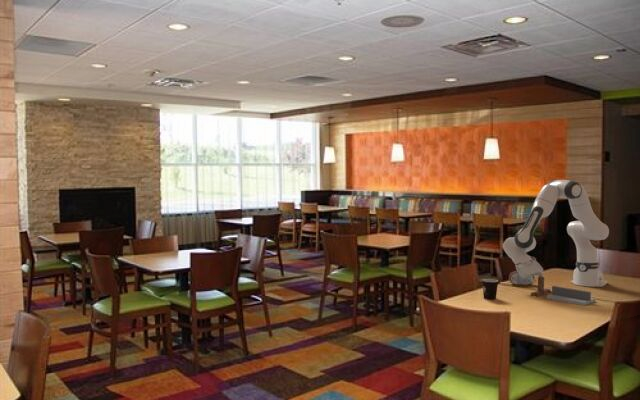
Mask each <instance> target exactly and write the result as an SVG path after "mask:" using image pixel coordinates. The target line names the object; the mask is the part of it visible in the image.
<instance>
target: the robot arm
mask: <svg viewBox="0 0 640 400" xmlns="http://www.w3.org/2000/svg"><path fill="white" fill-rule="evenodd" d="M558 199H567V200H568V204H569V206H570V207H569V208H570V210H571V213H572V216H573V218H575V219H576V220H573V221H570V222H569V223H568V224H567V226H566V231H567V234H568V236H570V238H571V239H572V240H573V242H574V244H575V248H576V260H575V261H576V262H575V269H574V270H573V275H572V276H573V278H572V280H570V283H573V284H574V285H576V286H580V287H595V288H596V287H599V288H601V287H603V288H604V286H606V285H607V284H608V281H607V280H604V274H603V272H602V271H601V269H600V268H599V266H600V261H598V250H597V249H598V248H596V247H595V246H594V245H593V244H592V243H591V241H590V240H592V241H602V240H606V239H607V238H608V237H609V234H610V229H609V227H608V225H607V224H606V223H604V222H602V221H601V220H600V219H599V217H597V214H595V213H594V211H593V207H592V205H591V202H590V198H589V194H588V193H587V190H586V188H585V187H584V185H582V184H580V183H579V182H578V181H574V180H568V179H552V180H550V181H548V182H547V184H545V185H543V186H542V188H541V189H540V191H539V192H538V194H537V196H536V198H535V200H534V202H533V205H532V207H531V211H530V213H529V215H528V216H527V219H526V221H525V222H524V224H523V226H522V228H521V229H519V230H518V231H517V232H516V234H515V235H514V236H513V237H508V238H506V239H505V240H504V242H503V243H502V249H503V250H504V252H505V254H506V255H507V256H508V257H509V258H510V259H511V260H512V262H513V263H514V264H515V266H514V267H515V269H516V270H515V271H518V273H519V274H520V276H521V277H522V278H528V279H529V280H530V281H532V282H533V283H532V284H535V283H536V282H537V280H536V278H535V276H537V277H544V275H543V273H544V268H543V267H542V265H541V264H540V263H539V262H538V261H537V258H535V257H534V256H531V255H528V253H529V252H531V251H532V250H534V249H535V248H536V245H537V241H536V238H535V237H534V232H535V231H536V228H537V226H538V225H539V222H540V221H541V220H542V219H544V218H546V217H549V216H550V215H551V213H552V212H553V210H554V208H555V206H556V204H557V201H558ZM532 276H534V278H535V279H534V278H532ZM544 280H545V277H544Z"/></svg>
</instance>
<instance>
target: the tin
mask: <svg viewBox="0 0 640 400" xmlns="http://www.w3.org/2000/svg"><path fill="white" fill-rule="evenodd" d="M532 278H534V279H535V280H536V278H535V276H532ZM508 281H509V282H510V283H511V284H512V285H515V286H531V285H533V284H534V283H533V282H532V281H530V280H529V279H528V278H522V277H521V276H520V274H519V273H518V271H517V270H515V271H511V272H510V273H509V275H508Z"/></svg>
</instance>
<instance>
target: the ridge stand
mask: <svg viewBox="0 0 640 400" xmlns="http://www.w3.org/2000/svg"><path fill="white" fill-rule="evenodd" d="M547 298H548V300H551V299H552V300H551V301H558V302H564V303H569V304H574V305H580V306H587V305H590V304H592V303H594V302H596V298H593V297H592V292H591V291H586V290H581V289H574V288H568V287H562V286H555V285H552V286H551V294H549V295H547V296H546V299H547Z"/></svg>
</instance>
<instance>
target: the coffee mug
mask: <svg viewBox="0 0 640 400" xmlns="http://www.w3.org/2000/svg"><path fill="white" fill-rule="evenodd" d="M498 283H499V280H498V279H493V278H483V279H482V280H481V286H482V294H483V299H484V300H488V301H489V300H490V301H494V300H495V301H496V300H497V295H498V294H497V293H498V287H499V286H498Z"/></svg>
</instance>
